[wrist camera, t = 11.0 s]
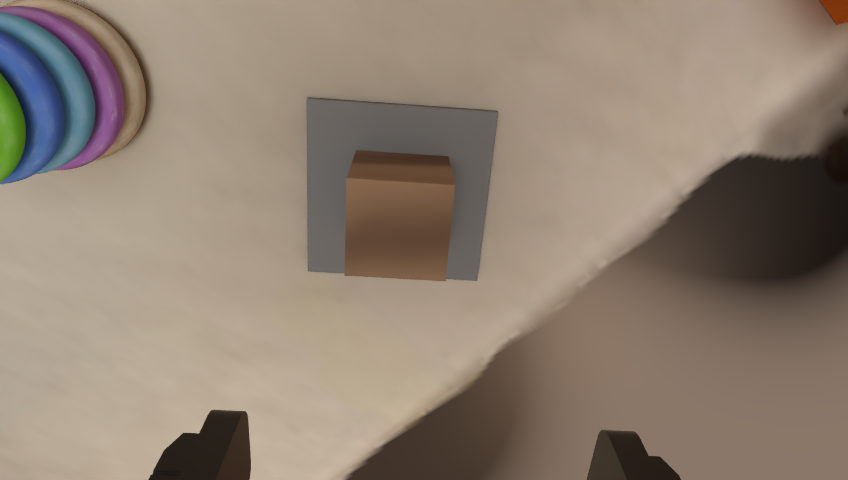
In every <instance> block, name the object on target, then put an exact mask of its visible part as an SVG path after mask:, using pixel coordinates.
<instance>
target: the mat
mask: <svg viewBox="0 0 848 480" xmlns="http://www.w3.org/2000/svg"><path fill="white" fill-rule="evenodd" d="M497 118H498V111H492V110H478V109H464V108H450V107H435V106H421V105H407V104H393V103H379V102H365V101H351V100H336V99H322V98H307V203H308V271H311V272H328V273H345V229H346V182H347V175H348V173H349V170H350V167H351V164H352V161H353V158H354V155H355V152H356V150H362V151H377V152H392V153H407V154H422V155H437V156H449V160H450V164H451V169H452V173H453V177H454V182H455V193H454V203H453V213H452V222H451V232H450V242H449V252H448V262H447V272H446V279H454V280H472V281H477V278H478V270H479V262H480V254H481V246H482V238H483V230H484V222H485V214H486V206H487V198H488V190H489V182H490V174H491V166H492V158H493V150H494V142H495V134H496V126H497Z"/></svg>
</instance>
